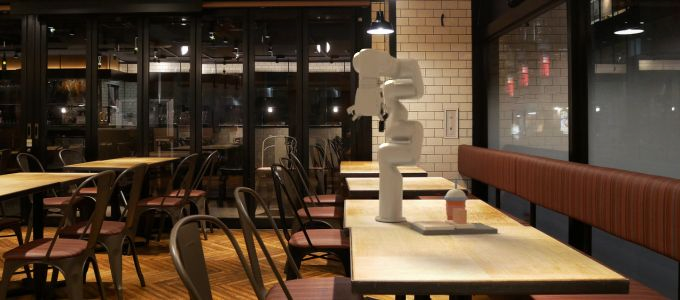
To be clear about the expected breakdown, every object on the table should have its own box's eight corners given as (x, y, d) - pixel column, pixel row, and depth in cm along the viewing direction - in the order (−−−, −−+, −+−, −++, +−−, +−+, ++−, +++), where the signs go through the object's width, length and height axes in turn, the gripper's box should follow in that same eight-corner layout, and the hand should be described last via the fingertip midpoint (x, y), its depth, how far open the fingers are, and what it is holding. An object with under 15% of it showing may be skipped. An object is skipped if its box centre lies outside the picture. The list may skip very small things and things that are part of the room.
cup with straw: (439, 222, 244) (440, 177, 243) (457, 220, 248) (458, 177, 247) (452, 225, 236) (453, 179, 235) (471, 224, 240) (472, 178, 239)
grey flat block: (410, 228, 227) (410, 221, 227) (480, 226, 233) (480, 219, 233) (423, 234, 213) (423, 227, 213) (497, 233, 218) (497, 225, 218)
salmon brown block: (444, 223, 228) (444, 207, 228) (462, 223, 230) (462, 207, 229) (456, 228, 216) (456, 211, 216) (475, 228, 218) (475, 211, 218)
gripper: (396, 84, 215) (395, 132, 216) (352, 85, 223) (352, 132, 224) (387, 82, 209) (386, 132, 209) (343, 84, 217) (342, 131, 217)
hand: (368, 132), depth 216 cm, fingers open, 9 cm apart
